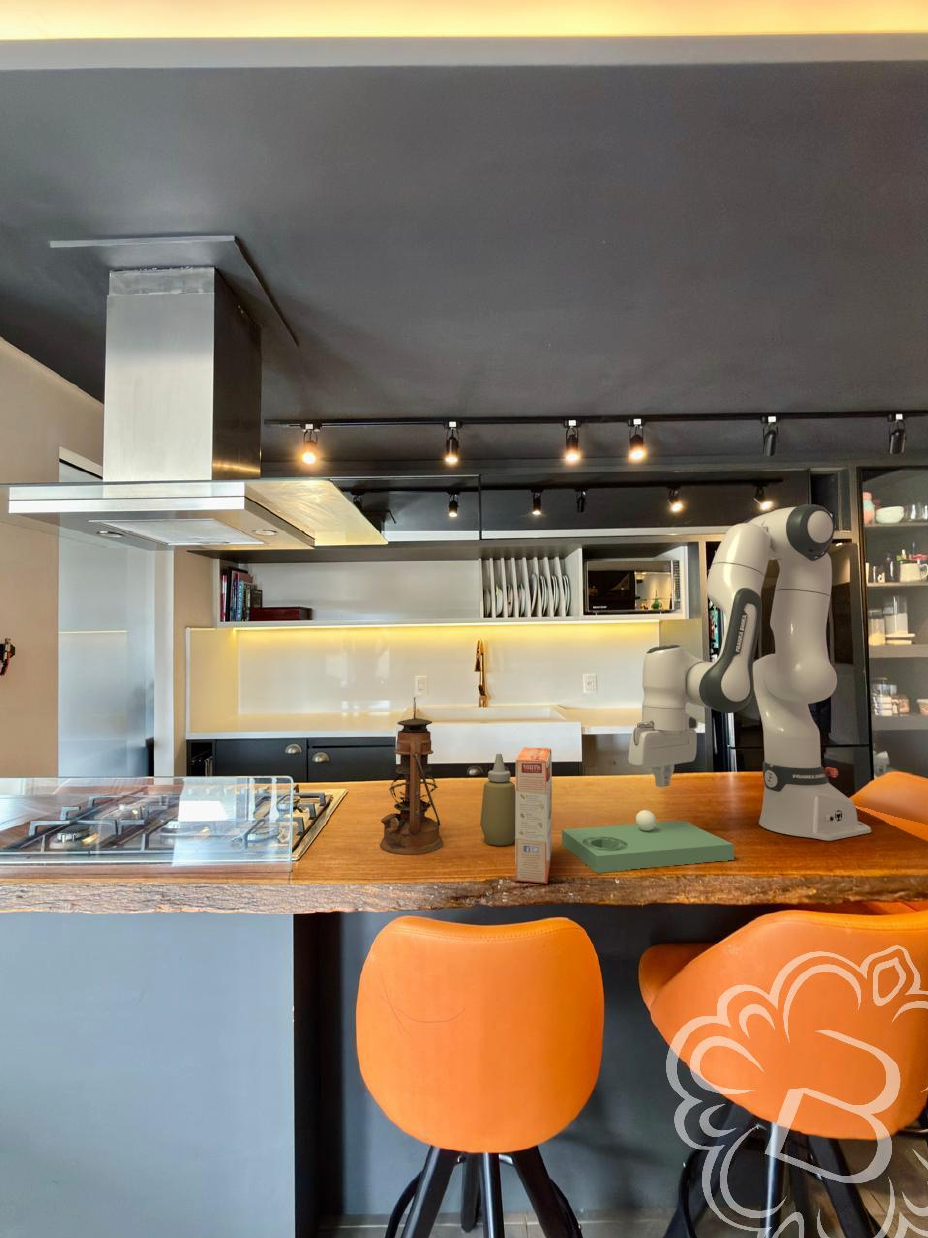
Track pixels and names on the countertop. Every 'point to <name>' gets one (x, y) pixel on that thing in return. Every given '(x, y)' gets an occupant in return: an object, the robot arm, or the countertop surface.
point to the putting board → (645, 846)
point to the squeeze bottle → (498, 806)
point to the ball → (645, 820)
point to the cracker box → (533, 815)
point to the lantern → (412, 794)
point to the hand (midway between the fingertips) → (662, 786)
